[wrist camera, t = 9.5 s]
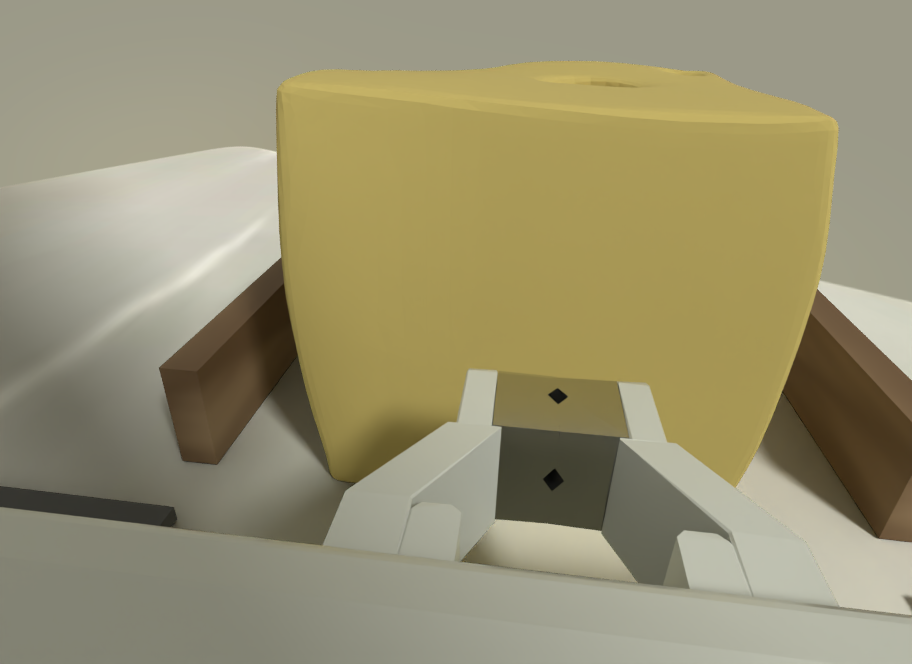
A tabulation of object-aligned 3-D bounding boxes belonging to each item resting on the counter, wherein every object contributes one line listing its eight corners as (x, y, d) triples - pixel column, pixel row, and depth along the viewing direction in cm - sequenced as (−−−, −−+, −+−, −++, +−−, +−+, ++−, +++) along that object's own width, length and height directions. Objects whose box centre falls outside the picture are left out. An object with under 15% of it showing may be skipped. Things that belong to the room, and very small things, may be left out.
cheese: (402, 318, 24) (397, 51, 19) (670, 345, 23) (736, 64, 18) (304, 495, 15) (248, 77, 10) (739, 559, 14) (908, 107, 9)
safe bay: (182, 460, 16) (158, 367, 15) (328, 282, 27) (322, 219, 26) (922, 543, 14) (978, 445, 13) (755, 315, 25) (775, 249, 24)
